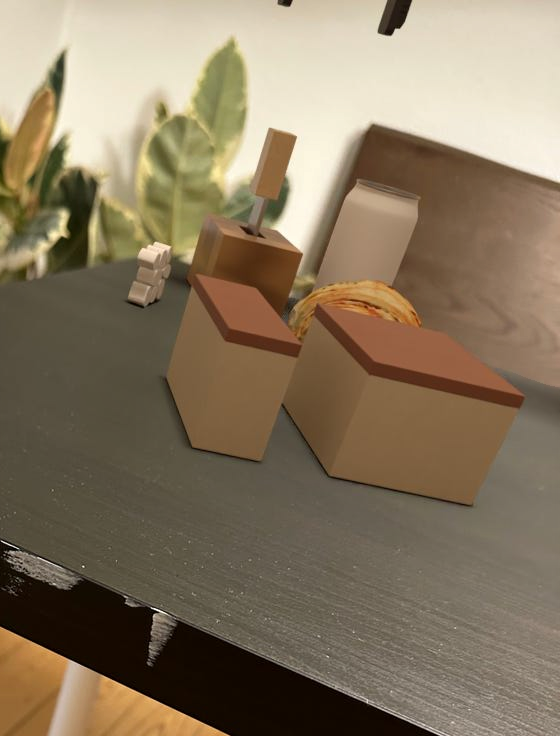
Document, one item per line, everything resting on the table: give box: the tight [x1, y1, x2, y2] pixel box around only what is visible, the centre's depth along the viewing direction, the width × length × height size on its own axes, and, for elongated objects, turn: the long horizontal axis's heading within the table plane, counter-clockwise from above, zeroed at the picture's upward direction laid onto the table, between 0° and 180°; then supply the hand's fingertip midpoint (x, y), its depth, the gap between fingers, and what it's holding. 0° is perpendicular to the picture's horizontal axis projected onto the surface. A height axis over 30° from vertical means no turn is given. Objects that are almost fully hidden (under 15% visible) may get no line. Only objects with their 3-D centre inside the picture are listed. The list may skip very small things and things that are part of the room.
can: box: [311, 178, 422, 293], centre depth 85 cm, size 6×6×12 cm
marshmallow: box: [127, 241, 174, 308], centre depth 78 cm, size 5×1×4 cm, turn 156°
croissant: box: [287, 279, 422, 345], centre depth 73 cm, size 21×10×8 cm, turn 163°
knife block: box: [186, 212, 304, 319], centre depth 86 cm, size 7×10×6 cm
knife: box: [246, 127, 298, 237], centre depth 84 cm, size 2×3×14 cm, turn 2°
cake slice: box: [165, 274, 302, 462], centre depth 56 cm, size 4×12×7 cm, turn 2°
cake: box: [282, 303, 526, 506], centre depth 58 cm, size 9×12×7 cm
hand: (334, 20), depth 76 cm, fingers open, 8 cm apart
